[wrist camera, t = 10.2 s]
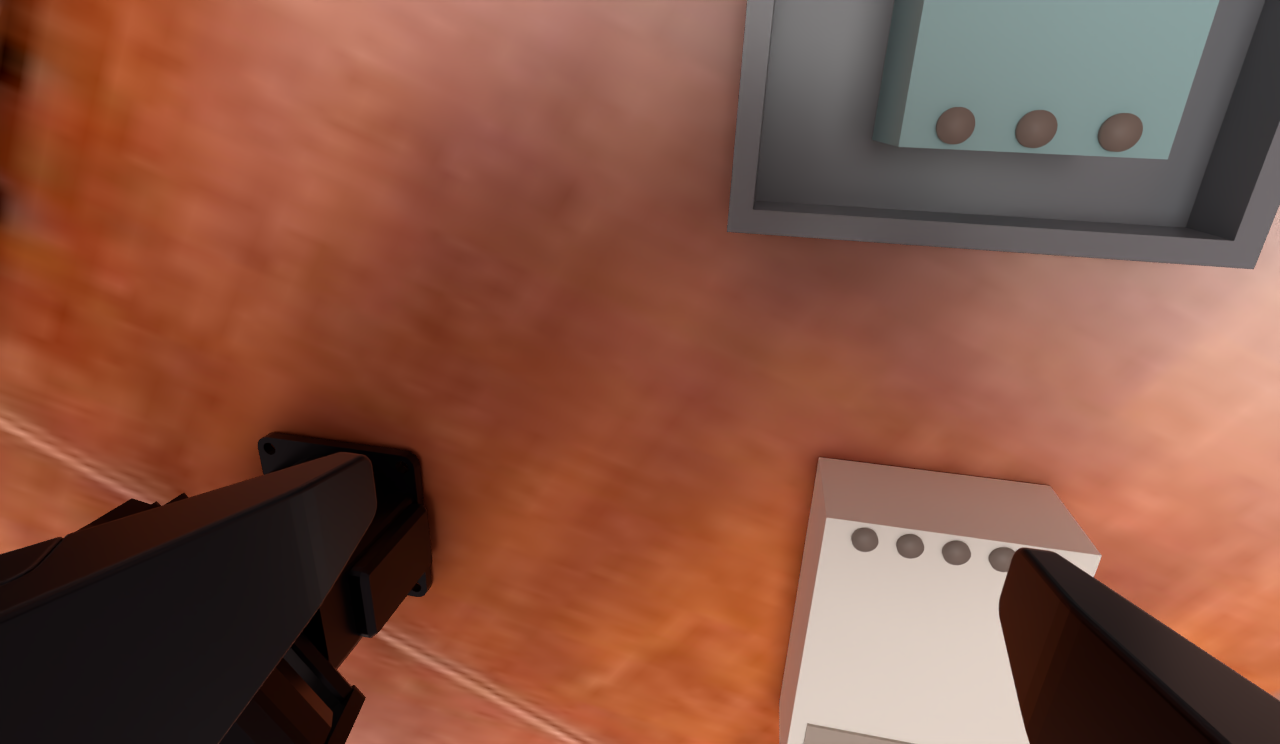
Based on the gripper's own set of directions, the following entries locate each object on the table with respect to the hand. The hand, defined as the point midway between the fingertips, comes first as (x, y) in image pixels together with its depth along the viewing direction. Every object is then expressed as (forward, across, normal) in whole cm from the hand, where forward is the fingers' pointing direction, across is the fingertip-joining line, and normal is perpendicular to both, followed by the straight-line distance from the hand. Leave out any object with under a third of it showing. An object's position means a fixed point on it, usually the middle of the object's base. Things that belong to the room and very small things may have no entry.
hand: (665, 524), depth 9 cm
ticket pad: (+12, -7, +10) cm, 17 cm away
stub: (+11, -6, -7) cm, 15 cm away
